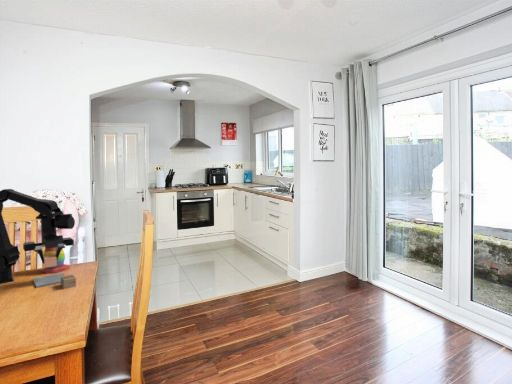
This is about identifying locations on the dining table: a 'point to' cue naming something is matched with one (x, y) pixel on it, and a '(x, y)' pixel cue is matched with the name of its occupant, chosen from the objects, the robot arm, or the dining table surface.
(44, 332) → the dining table surface
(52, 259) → the terracotta brick
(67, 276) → the walnut brick
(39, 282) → the baseplate
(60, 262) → the stacking bear
